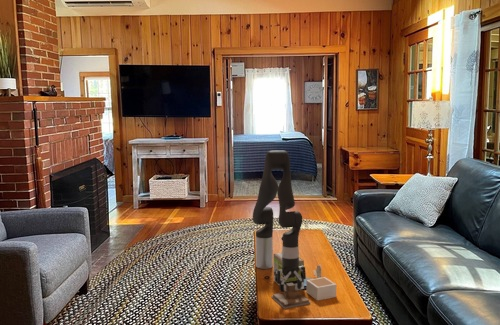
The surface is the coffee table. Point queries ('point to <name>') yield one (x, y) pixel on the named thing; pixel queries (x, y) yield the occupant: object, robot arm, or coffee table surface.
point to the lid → (290, 296)
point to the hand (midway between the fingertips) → (290, 290)
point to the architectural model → (317, 271)
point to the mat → (289, 306)
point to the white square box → (321, 288)
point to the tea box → (278, 266)
